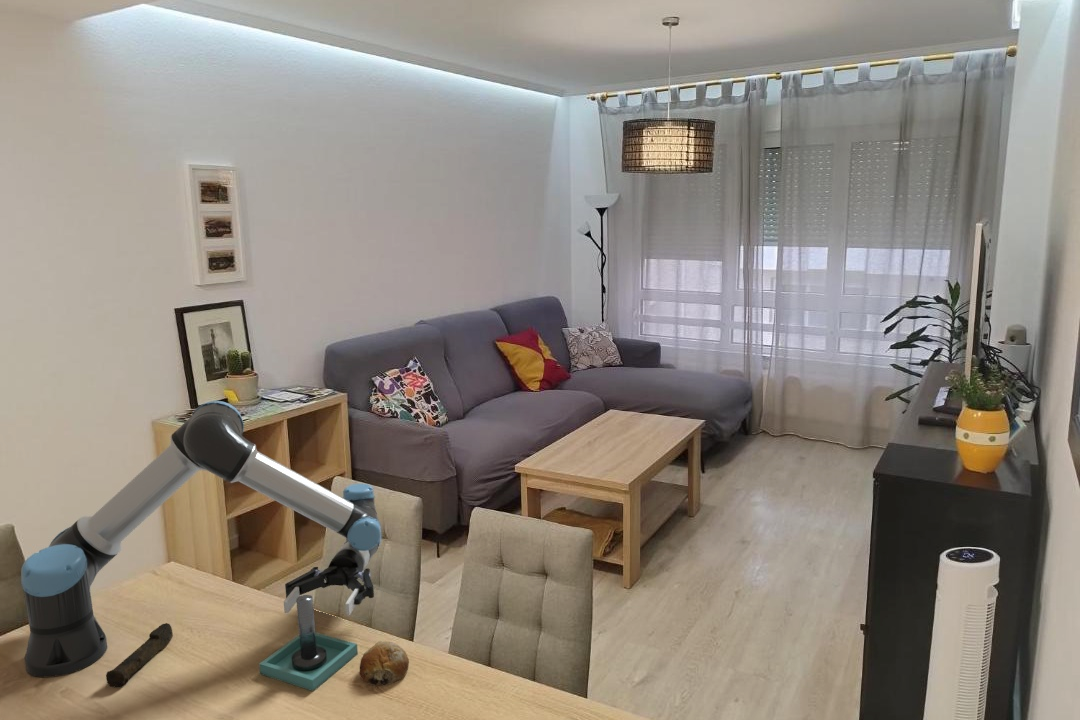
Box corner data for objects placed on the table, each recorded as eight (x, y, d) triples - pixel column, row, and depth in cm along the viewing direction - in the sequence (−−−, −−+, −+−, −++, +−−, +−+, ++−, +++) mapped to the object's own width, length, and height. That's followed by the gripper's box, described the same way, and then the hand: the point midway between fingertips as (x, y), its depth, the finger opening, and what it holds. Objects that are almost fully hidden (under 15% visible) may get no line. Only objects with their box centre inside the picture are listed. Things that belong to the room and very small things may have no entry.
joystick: (284, 666, 162) (279, 603, 159) (307, 649, 168) (302, 587, 165) (311, 674, 159) (306, 610, 156) (333, 656, 165) (329, 594, 162)
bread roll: (414, 687, 161) (423, 647, 163) (382, 692, 153) (392, 651, 154) (378, 673, 166) (387, 635, 168) (345, 677, 158) (355, 637, 159)
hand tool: (123, 690, 156) (121, 669, 155) (106, 688, 157) (103, 667, 156) (183, 639, 174) (181, 620, 173) (167, 637, 175) (165, 618, 174)
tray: (260, 674, 160) (259, 663, 160) (306, 639, 173) (305, 629, 172) (313, 691, 155) (312, 680, 154) (357, 654, 167) (356, 643, 166)
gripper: (400, 578, 186) (374, 626, 166) (300, 575, 189) (261, 622, 168) (399, 549, 185) (372, 594, 164) (297, 547, 187) (258, 590, 166)
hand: (316, 608), depth 166 cm, fingers open, 13 cm apart
